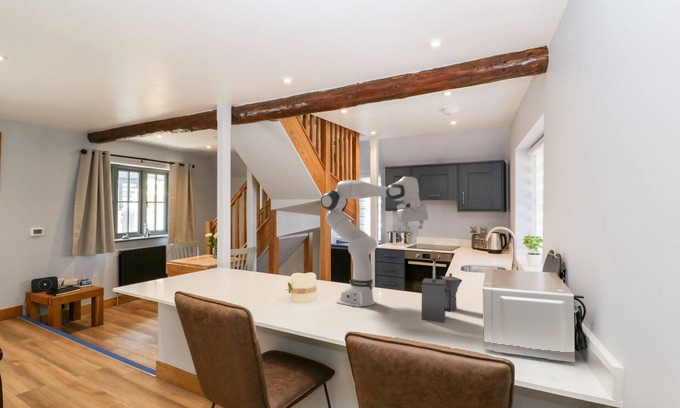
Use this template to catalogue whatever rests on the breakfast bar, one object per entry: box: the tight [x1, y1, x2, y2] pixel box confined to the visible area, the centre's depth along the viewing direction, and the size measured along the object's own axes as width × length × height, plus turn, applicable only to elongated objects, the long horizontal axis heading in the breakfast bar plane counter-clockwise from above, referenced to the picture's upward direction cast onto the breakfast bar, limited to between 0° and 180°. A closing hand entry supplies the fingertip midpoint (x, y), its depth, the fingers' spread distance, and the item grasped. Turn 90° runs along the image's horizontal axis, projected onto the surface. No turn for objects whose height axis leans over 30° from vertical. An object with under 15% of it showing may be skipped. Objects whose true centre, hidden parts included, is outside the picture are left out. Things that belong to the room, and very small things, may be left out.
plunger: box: [429, 250, 439, 282], centre depth 181 cm, size 8×8×23 cm
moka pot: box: [435, 272, 463, 312], centre depth 198 cm, size 10×15×20 cm, turn 78°
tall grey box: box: [421, 277, 452, 323], centre depth 181 cm, size 14×11×19 cm
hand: (414, 229), depth 195 cm, fingers open, 8 cm apart
